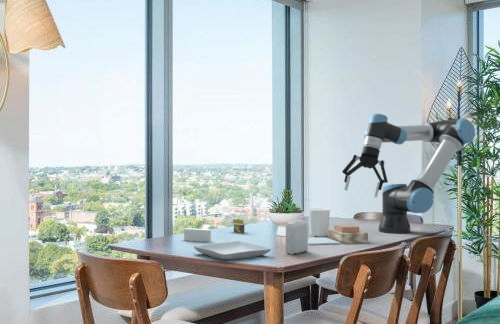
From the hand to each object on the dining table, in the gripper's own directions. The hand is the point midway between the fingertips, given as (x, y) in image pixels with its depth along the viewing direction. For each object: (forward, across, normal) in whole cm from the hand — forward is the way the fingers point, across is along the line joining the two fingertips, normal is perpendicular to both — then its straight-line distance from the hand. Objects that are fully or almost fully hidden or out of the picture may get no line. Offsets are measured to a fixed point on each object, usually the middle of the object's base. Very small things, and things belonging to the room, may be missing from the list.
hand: (360, 193), depth 252 cm
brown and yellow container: (+32, -52, +1) cm, 61 cm away
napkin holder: (+39, -57, -30) cm, 75 cm away
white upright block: (+32, -10, -42) cm, 54 cm away
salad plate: (+39, -29, -57) cm, 75 cm away
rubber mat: (+26, -10, -13) cm, 31 cm away
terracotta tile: (+18, -1, -6) cm, 19 cm away
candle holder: (+23, -15, +6) cm, 28 cm away
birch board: (+22, 0, -5) cm, 22 cm away
